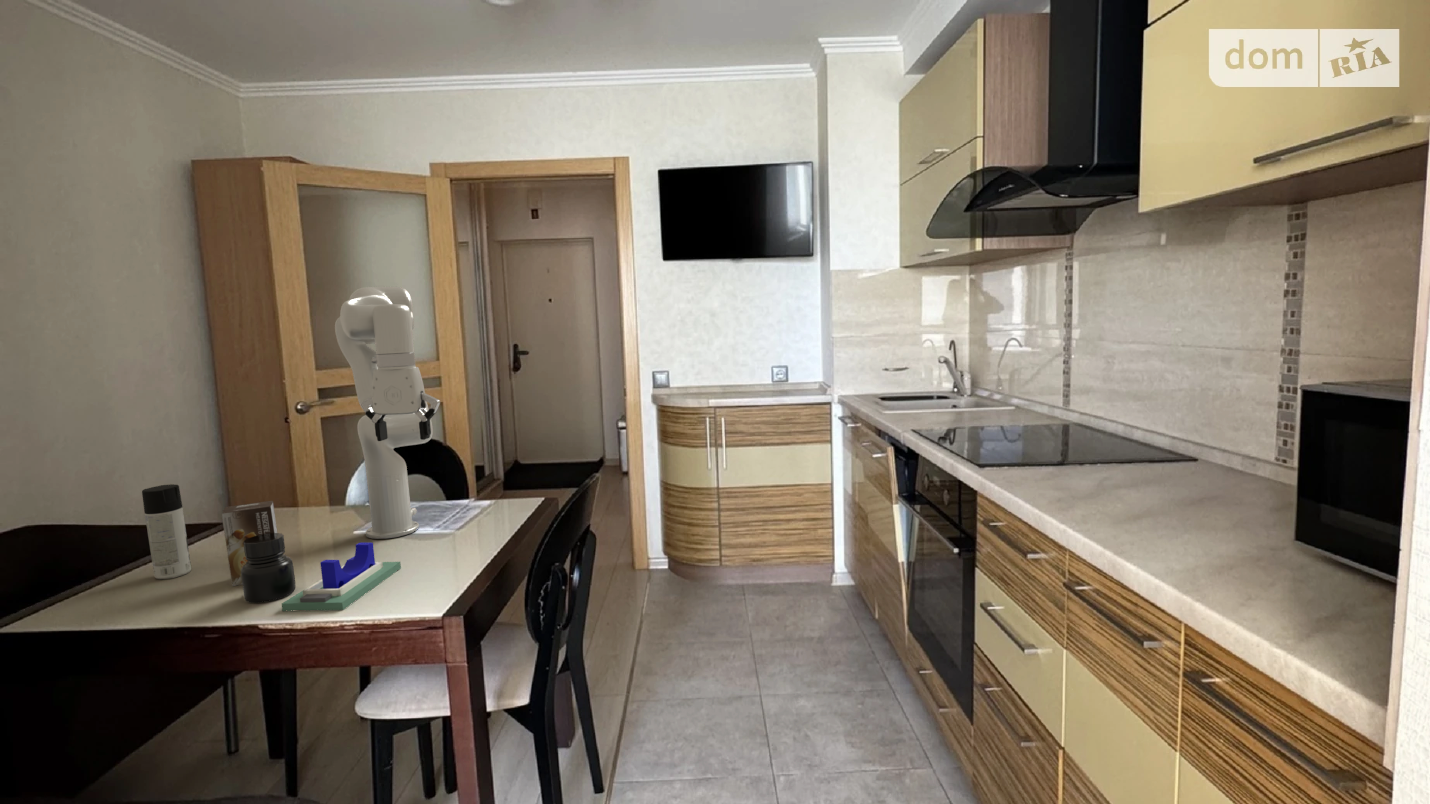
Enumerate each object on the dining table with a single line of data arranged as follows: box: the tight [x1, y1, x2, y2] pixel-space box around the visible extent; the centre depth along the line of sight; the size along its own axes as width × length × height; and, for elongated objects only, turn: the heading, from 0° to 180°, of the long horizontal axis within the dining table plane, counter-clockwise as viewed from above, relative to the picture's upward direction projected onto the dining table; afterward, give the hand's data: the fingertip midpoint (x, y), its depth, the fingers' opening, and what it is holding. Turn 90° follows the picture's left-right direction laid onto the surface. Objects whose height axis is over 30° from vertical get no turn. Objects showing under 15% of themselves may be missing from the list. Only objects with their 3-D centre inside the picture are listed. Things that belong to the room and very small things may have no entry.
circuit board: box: [281, 561, 402, 612], centre depth 144 cm, size 22×12×3 cm, turn 177°
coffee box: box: [221, 500, 278, 587], centre depth 151 cm, size 9×6×16 cm
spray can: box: [141, 483, 192, 580], centre depth 155 cm, size 7×7×20 cm
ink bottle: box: [241, 532, 296, 604], centre depth 141 cm, size 10×9×12 cm
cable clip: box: [320, 542, 376, 589], centre depth 144 cm, size 12×4×6 cm, turn 171°
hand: (404, 439), depth 154 cm, fingers open, 9 cm apart
